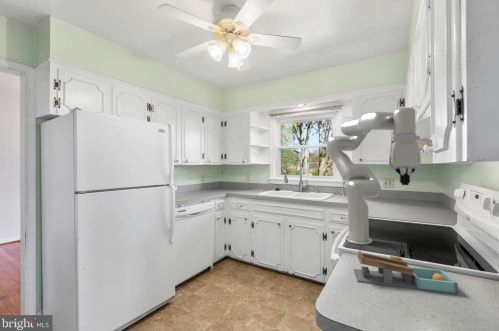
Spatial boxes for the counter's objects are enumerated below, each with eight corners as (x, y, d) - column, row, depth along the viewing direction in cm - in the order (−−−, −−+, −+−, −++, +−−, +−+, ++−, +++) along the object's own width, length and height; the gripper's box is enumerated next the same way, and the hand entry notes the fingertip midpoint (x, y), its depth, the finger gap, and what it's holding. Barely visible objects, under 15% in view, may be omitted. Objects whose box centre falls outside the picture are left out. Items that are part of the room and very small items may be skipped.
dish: (406, 275, 82) (406, 266, 82) (441, 279, 79) (441, 269, 79) (417, 289, 73) (417, 279, 73) (457, 293, 70) (457, 283, 70)
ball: (428, 277, 78) (434, 269, 77) (438, 283, 77) (444, 275, 76) (433, 282, 74) (438, 274, 74) (443, 288, 74) (449, 280, 73)
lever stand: (353, 270, 87) (353, 257, 87) (406, 275, 82) (406, 262, 82) (357, 281, 78) (357, 267, 78) (417, 288, 73) (416, 273, 73)
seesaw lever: (354, 252, 92) (355, 244, 92) (400, 262, 87) (401, 253, 87) (359, 266, 79) (361, 256, 79) (414, 278, 75) (415, 268, 75)
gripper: (422, 139, 95) (422, 184, 95) (381, 141, 99) (381, 184, 99) (430, 137, 88) (431, 185, 88) (386, 139, 92) (386, 185, 92)
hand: (404, 184), depth 94 cm, fingers closed
